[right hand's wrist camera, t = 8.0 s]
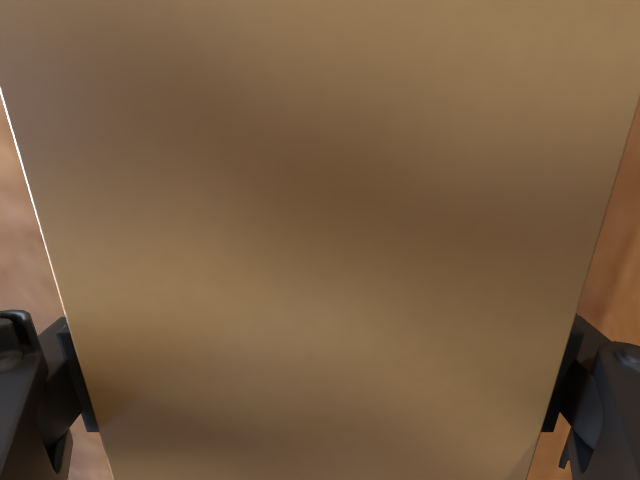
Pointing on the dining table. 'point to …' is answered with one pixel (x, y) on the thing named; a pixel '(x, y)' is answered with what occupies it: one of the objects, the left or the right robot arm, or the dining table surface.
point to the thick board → (320, 221)
